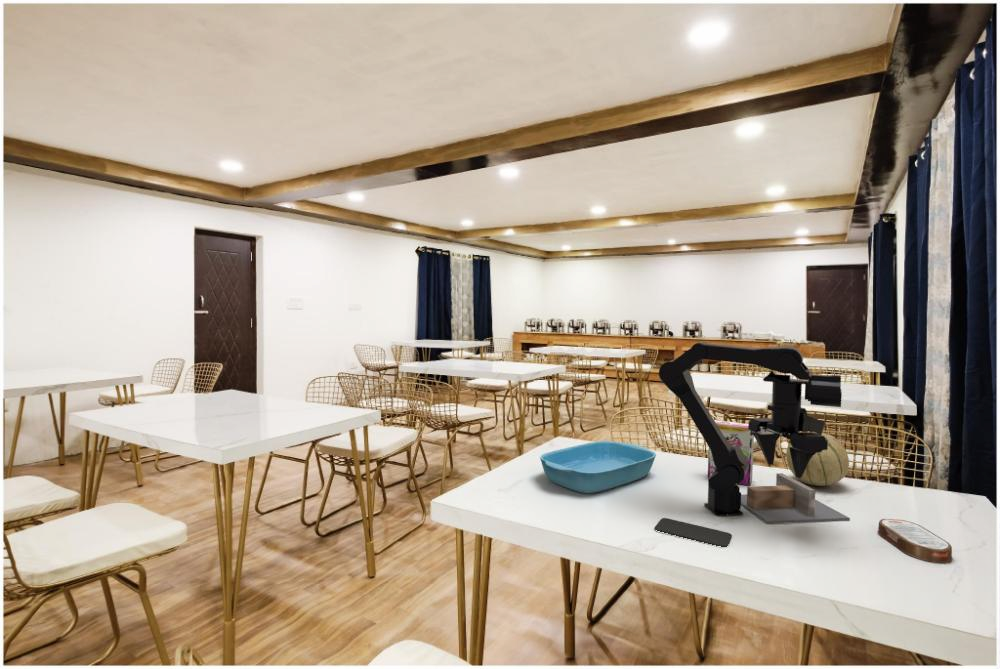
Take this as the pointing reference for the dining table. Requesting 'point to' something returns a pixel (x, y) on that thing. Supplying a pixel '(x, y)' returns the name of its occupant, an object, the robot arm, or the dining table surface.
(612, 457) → the casserole dish
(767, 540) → the dining table surface
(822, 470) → the cantaloupe
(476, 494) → the dining table surface
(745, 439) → the candy bar box
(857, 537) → the dining table surface
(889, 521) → the tin
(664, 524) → the phone
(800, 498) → the t-shaped pusher tool
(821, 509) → the tool mat
